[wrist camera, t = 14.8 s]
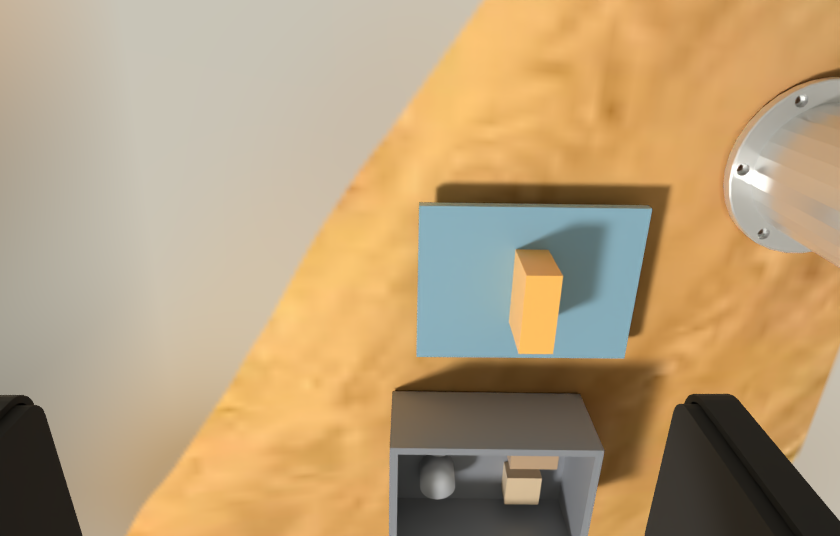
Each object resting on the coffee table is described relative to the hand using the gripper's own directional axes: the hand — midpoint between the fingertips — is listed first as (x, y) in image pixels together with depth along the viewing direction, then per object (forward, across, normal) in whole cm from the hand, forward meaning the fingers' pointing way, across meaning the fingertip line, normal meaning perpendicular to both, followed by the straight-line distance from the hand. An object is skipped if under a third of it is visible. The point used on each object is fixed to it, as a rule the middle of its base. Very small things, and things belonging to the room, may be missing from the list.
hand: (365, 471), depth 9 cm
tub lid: (+34, -10, +13) cm, 38 cm away
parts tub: (+34, -8, +30) cm, 46 cm away
